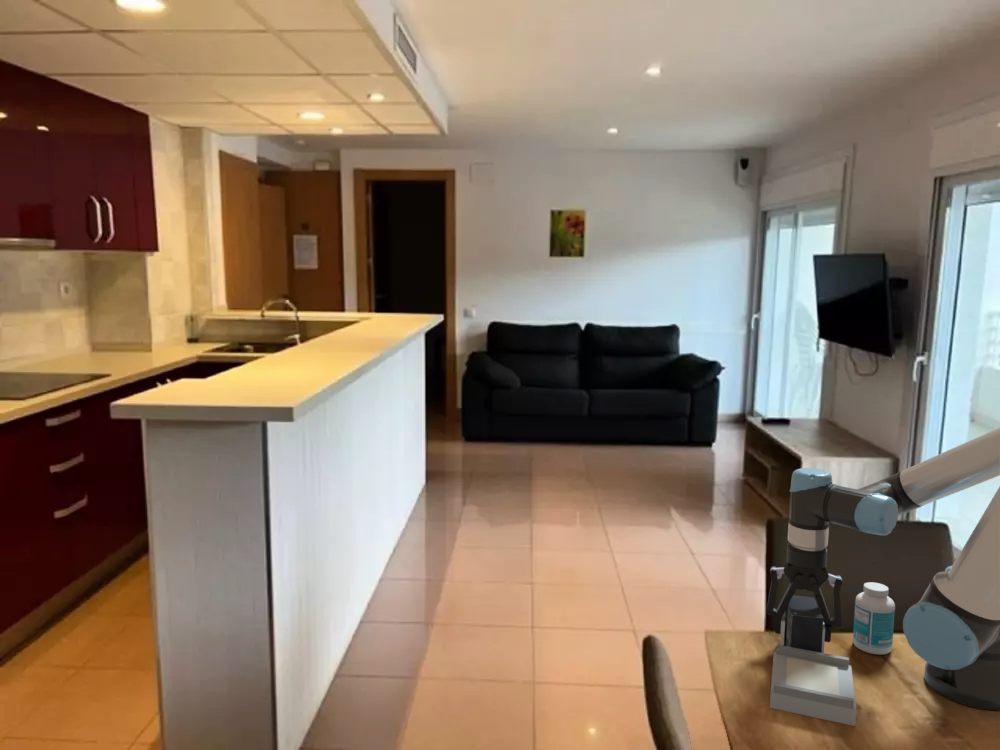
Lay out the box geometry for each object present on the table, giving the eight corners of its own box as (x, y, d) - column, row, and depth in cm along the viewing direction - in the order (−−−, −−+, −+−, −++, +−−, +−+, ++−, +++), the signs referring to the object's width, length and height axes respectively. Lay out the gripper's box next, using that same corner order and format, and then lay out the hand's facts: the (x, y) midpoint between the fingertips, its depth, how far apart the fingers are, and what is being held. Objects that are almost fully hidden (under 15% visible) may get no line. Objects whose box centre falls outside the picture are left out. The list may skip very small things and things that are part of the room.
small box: (823, 667, 146) (825, 617, 145) (788, 664, 148) (790, 615, 146) (813, 642, 156) (814, 595, 155) (781, 640, 158) (782, 593, 157)
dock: (849, 680, 142) (851, 658, 142) (855, 726, 128) (857, 702, 127) (773, 665, 148) (774, 644, 147) (769, 707, 133) (771, 684, 132)
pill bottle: (893, 645, 156) (898, 584, 154) (890, 660, 150) (895, 597, 148) (854, 635, 160) (859, 576, 158) (849, 649, 154) (854, 588, 152)
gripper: (860, 545, 149) (853, 652, 152) (756, 532, 156) (752, 634, 159) (862, 558, 142) (855, 670, 145) (754, 544, 149) (749, 650, 152)
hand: (801, 651), depth 152 cm, fingers closed on small box, 7 cm apart
